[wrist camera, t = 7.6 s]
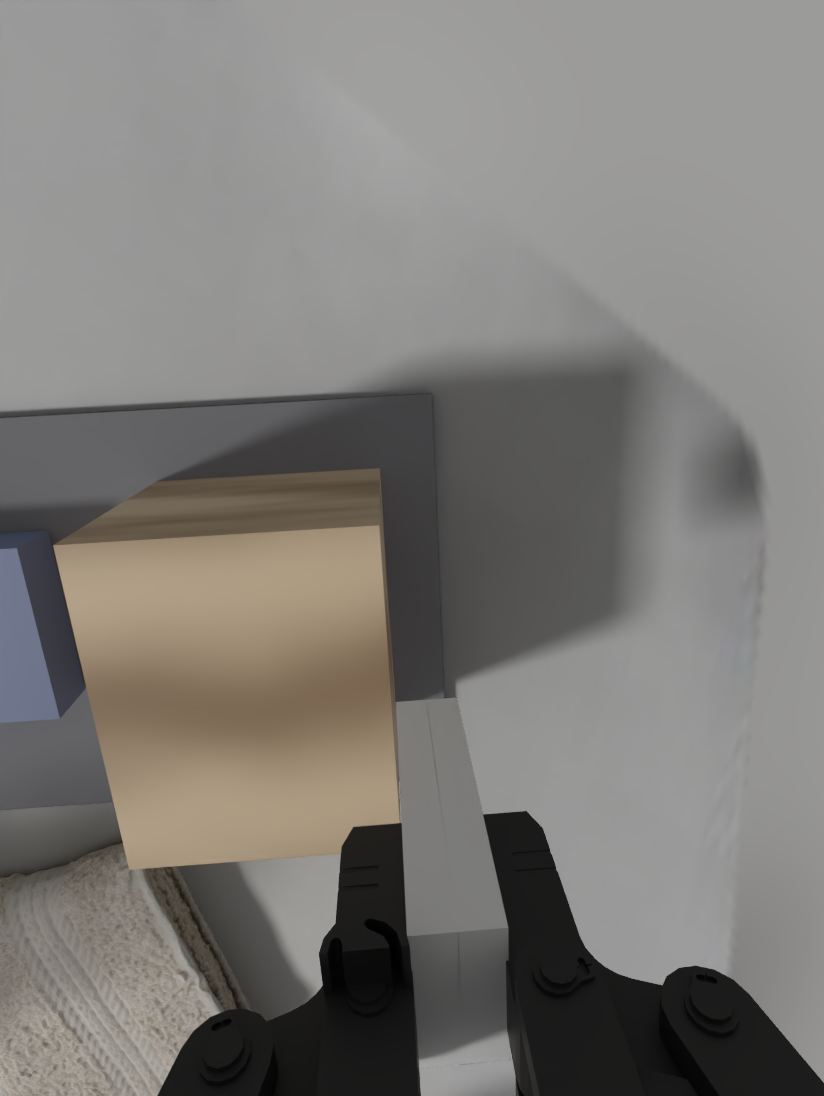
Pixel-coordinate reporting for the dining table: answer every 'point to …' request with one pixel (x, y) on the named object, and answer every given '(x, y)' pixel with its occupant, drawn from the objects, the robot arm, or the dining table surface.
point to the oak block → (239, 664)
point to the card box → (34, 633)
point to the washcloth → (103, 977)
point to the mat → (213, 452)
